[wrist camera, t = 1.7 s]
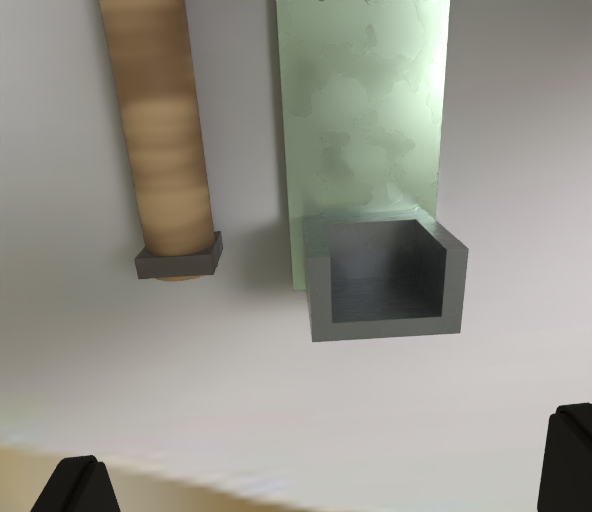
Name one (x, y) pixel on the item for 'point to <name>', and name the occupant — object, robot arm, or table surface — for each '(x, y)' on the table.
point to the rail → (162, 136)
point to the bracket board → (368, 167)
